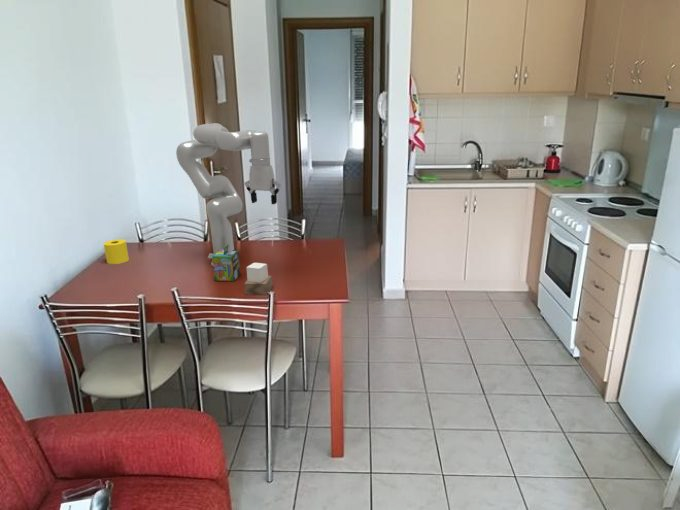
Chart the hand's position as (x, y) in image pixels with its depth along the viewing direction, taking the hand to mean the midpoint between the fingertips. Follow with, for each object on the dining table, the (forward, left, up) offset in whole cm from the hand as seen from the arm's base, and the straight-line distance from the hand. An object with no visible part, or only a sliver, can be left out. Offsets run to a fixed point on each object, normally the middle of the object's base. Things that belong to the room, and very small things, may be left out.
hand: (264, 203), depth 222 cm
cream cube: (+5, -17, -28) cm, 33 cm away
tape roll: (-82, -7, -33) cm, 89 cm away
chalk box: (-16, -9, -33) cm, 37 cm away
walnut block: (+5, -17, -33) cm, 37 cm away
